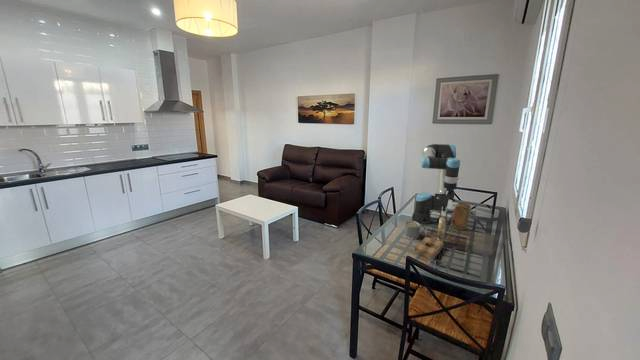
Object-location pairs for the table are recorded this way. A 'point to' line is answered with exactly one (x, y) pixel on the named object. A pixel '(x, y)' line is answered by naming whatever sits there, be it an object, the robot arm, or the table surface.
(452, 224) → the block
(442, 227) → the peg
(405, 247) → the table surface
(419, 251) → the board
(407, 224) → the coffee mug
